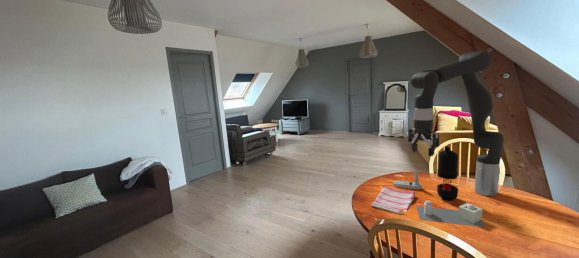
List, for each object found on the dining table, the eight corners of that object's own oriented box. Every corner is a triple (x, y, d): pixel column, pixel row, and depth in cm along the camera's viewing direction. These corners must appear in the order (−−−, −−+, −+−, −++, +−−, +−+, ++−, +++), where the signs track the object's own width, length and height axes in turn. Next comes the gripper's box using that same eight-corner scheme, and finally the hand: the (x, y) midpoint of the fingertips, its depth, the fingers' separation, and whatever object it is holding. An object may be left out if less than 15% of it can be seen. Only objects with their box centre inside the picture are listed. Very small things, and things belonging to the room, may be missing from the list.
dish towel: (415, 196, 128) (416, 190, 127) (406, 217, 110) (407, 210, 109) (383, 190, 138) (383, 184, 138) (370, 208, 120) (370, 201, 120)
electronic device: (393, 169, 144) (421, 171, 136) (394, 184, 145) (422, 187, 138) (392, 172, 139) (421, 174, 132) (393, 187, 141) (421, 191, 133)
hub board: (419, 222, 104) (420, 206, 103) (416, 209, 115) (416, 194, 114) (486, 230, 95) (487, 213, 94) (475, 215, 106) (476, 199, 105)
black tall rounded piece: (456, 208, 113) (459, 148, 108) (434, 203, 119) (436, 146, 114) (459, 197, 123) (462, 141, 118) (439, 192, 129) (441, 139, 124)
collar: (458, 216, 104) (458, 206, 103) (466, 213, 106) (467, 202, 105) (473, 223, 98) (474, 212, 97) (481, 219, 101) (482, 208, 100)
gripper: (444, 118, 98) (443, 156, 101) (416, 115, 111) (415, 148, 114) (431, 121, 96) (430, 159, 99) (404, 117, 109) (403, 151, 112)
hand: (422, 153), depth 107 cm, fingers open, 8 cm apart
